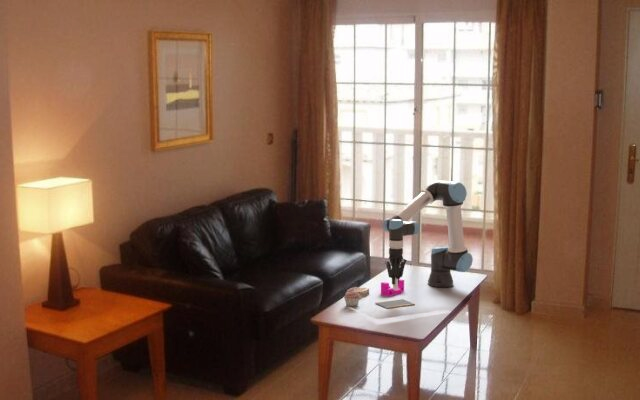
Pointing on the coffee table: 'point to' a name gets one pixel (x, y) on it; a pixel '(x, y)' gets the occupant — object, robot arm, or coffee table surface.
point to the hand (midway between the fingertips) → (395, 289)
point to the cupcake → (352, 298)
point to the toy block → (389, 291)
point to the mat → (394, 303)
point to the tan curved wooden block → (361, 291)
